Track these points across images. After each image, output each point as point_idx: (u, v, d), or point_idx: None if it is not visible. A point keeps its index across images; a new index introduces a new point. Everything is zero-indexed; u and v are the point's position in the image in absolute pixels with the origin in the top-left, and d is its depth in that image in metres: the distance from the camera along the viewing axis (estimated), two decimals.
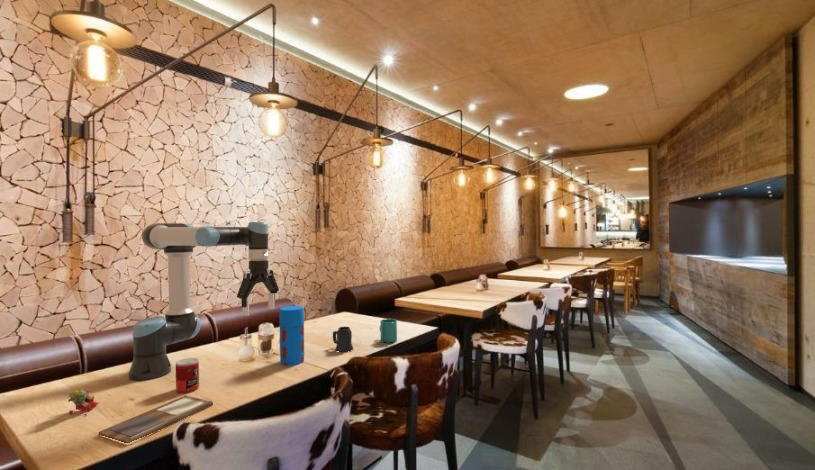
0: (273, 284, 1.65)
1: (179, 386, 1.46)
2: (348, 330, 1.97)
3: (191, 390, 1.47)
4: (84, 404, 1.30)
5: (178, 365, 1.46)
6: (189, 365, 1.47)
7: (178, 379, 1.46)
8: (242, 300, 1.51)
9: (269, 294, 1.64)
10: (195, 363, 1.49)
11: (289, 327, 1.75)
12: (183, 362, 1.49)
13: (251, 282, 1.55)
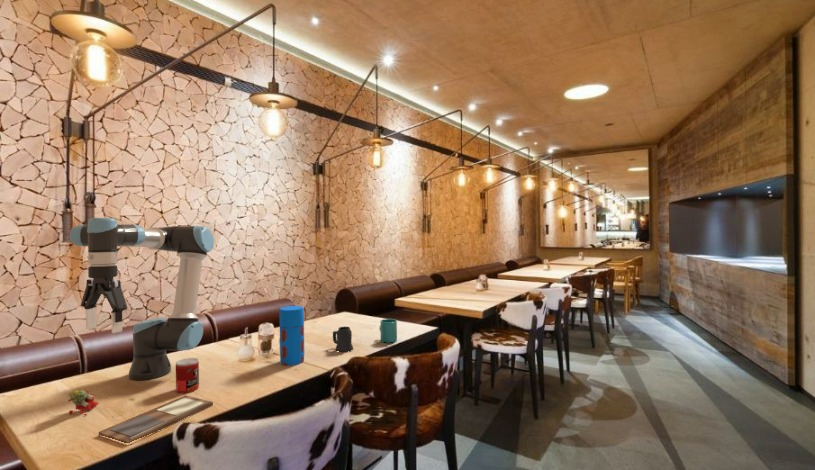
0: None
1: (179, 386, 1.46)
2: (348, 330, 1.97)
3: (191, 390, 1.47)
4: (84, 404, 1.30)
5: (178, 365, 1.46)
6: (189, 365, 1.47)
7: (178, 379, 1.46)
8: None
9: None
10: (195, 363, 1.49)
11: (289, 327, 1.75)
12: (183, 362, 1.49)
13: None
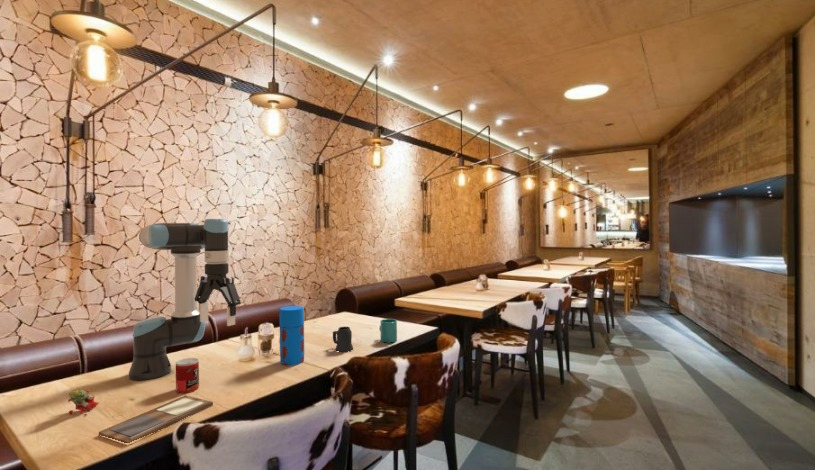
0: None
1: (179, 386, 1.46)
2: (348, 330, 1.97)
3: (191, 390, 1.47)
4: (84, 404, 1.30)
5: (178, 365, 1.46)
6: (189, 365, 1.47)
7: (178, 379, 1.46)
8: None
9: None
10: (195, 363, 1.49)
11: (289, 327, 1.75)
12: (183, 362, 1.49)
13: None
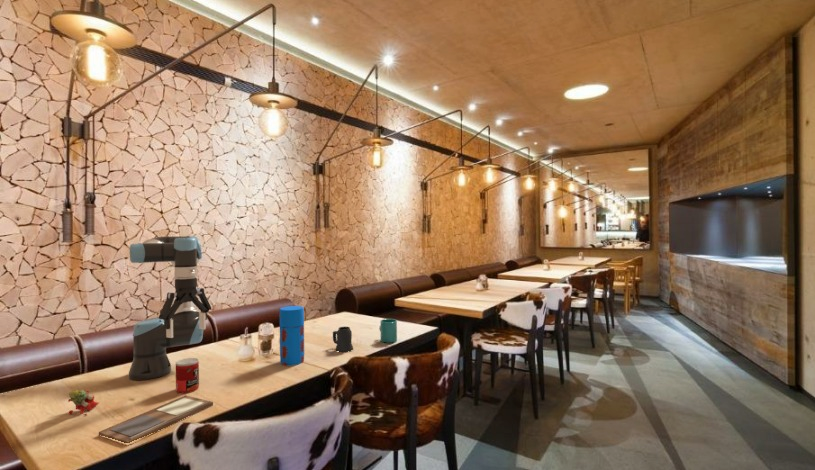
0: (204, 303, 1.56)
1: (179, 386, 1.46)
2: (348, 330, 1.97)
3: (191, 390, 1.47)
4: (84, 404, 1.30)
5: (178, 365, 1.46)
6: (189, 365, 1.47)
7: (178, 379, 1.46)
8: (165, 321, 1.42)
9: (200, 313, 1.56)
10: (195, 363, 1.49)
11: (289, 327, 1.75)
12: (183, 362, 1.49)
13: (176, 302, 1.46)
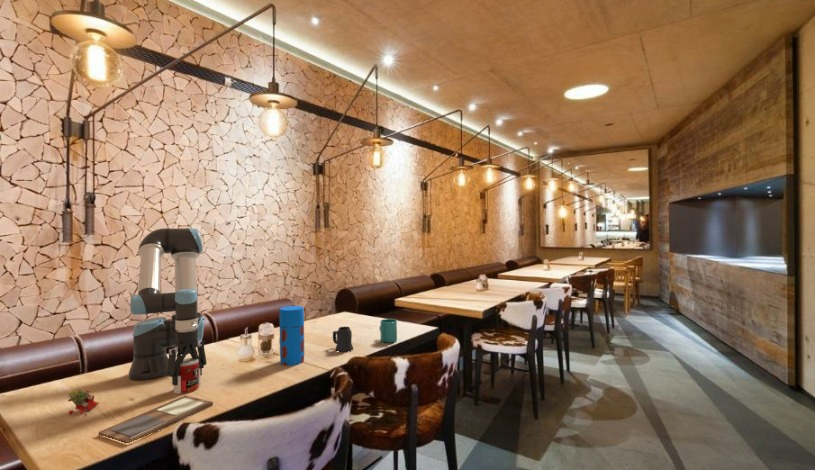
0: (201, 356, 1.55)
1: None
2: (348, 330, 1.97)
3: (191, 390, 1.47)
4: (84, 404, 1.30)
5: None
6: (189, 365, 1.47)
7: None
8: (173, 378, 1.45)
9: None
10: (195, 363, 1.49)
11: (289, 327, 1.75)
12: (183, 362, 1.49)
13: (179, 356, 1.47)
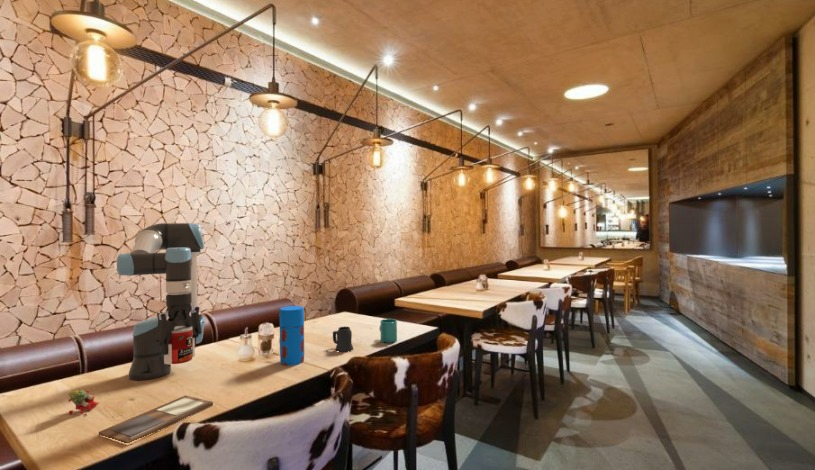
0: (195, 325, 1.37)
1: None
2: (348, 330, 1.97)
3: (184, 361, 1.30)
4: (84, 404, 1.30)
5: None
6: (181, 332, 1.29)
7: None
8: (162, 346, 1.27)
9: None
10: (188, 330, 1.31)
11: (289, 327, 1.75)
12: (175, 329, 1.32)
13: (170, 322, 1.29)
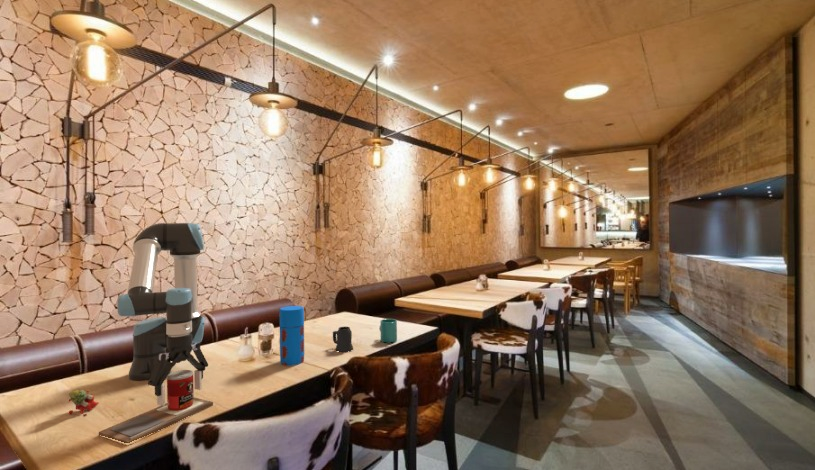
0: (200, 359, 1.39)
1: (171, 403, 1.29)
2: (348, 330, 1.97)
3: (184, 407, 1.30)
4: (84, 404, 1.30)
5: (170, 379, 1.29)
6: (182, 379, 1.29)
7: (169, 395, 1.29)
8: (155, 387, 1.25)
9: (195, 372, 1.38)
10: (189, 376, 1.31)
11: (289, 327, 1.75)
12: (176, 375, 1.32)
13: (168, 363, 1.29)
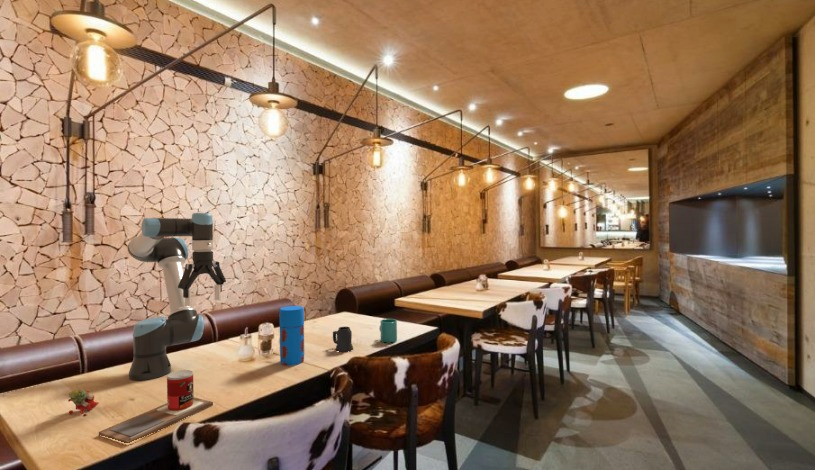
0: (219, 275, 1.65)
1: (171, 403, 1.29)
2: (348, 330, 1.97)
3: (184, 407, 1.30)
4: (84, 404, 1.30)
5: (170, 379, 1.29)
6: (182, 379, 1.29)
7: (169, 395, 1.29)
8: (184, 291, 1.51)
9: (215, 285, 1.65)
10: (189, 376, 1.31)
11: (289, 327, 1.75)
12: (176, 375, 1.32)
13: (194, 273, 1.55)
